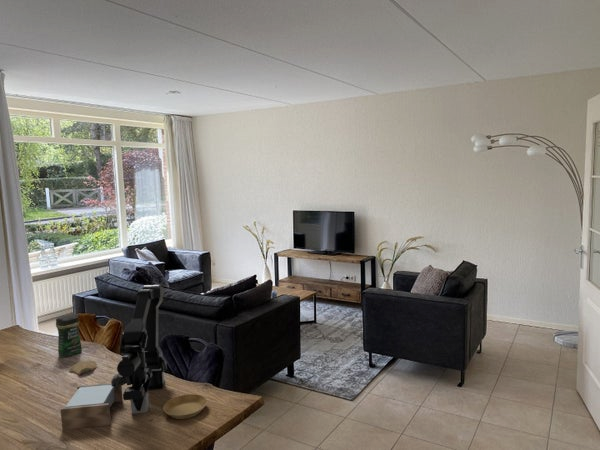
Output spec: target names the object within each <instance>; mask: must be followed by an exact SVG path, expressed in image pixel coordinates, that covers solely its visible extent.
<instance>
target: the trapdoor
mask: <svg viewBox="0 0 600 450" xmlns="http://www.w3.org/2000/svg"><path fill="white" fill-rule="evenodd" d="M111 385H112V384H111ZM111 385H100V386H90V387H80V388H79V389H78V390H77V391H75V393H74V394H73V396H72V397H71V398H70V399H69V401H68V402H67V404H66V405H65V407H64V408H66V407H76V406H86V405H96V404H107V403H109V406H110V408H111V407H112V405H113V404H114V402H113V401H114V399H115V393H114V386H111Z"/></svg>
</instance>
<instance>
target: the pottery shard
mask: <svg viewBox="0 0 600 450" xmlns="http://www.w3.org/2000/svg"><path fill="white" fill-rule="evenodd" d="M97 368H98V366H97V362H96V361H95V360H85V361H80V362H78V363H76V364H74V365H72V366H71V367H70V368H69V371H68V372H69V373H73V374H77V375H79V376H80V375H82V374H83V373H85V372H88V371H92V372H93V371H94V370H96V369H97Z"/></svg>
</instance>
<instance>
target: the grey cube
mask: <svg viewBox="0 0 600 450" xmlns="http://www.w3.org/2000/svg"><path fill="white" fill-rule="evenodd" d="M149 395H150V394H149V391H147V392H146V393H145V396H144V400H143V403H142V406H141V410H140V411H137V410H136V407H135V405H134V403H133V401H132V400H129V401H130V409H131V410H130V412H131V415H133V414H143V413H147V411H148V409H149V407H150V398H149Z"/></svg>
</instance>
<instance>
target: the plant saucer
mask: <svg viewBox="0 0 600 450" xmlns="http://www.w3.org/2000/svg"><path fill="white" fill-rule="evenodd" d="M207 404H208V399H207V397H205V396H203V395H201V394H195V393H193V394H191V393H189V394H182V395H181V394H180V395H179V396H176V397H173V398H171V399H169V400H168V401H166V402H165V403H164V405H163V408H162V410H163V411H164V413H166V415H168V416H169V417H172V418H173V419H177V420H184V419H189V418H193V417H196V416H197V415H199V414H200V413H201V412H202V411H203V410H204V409H205V407H206V405H207Z"/></svg>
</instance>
